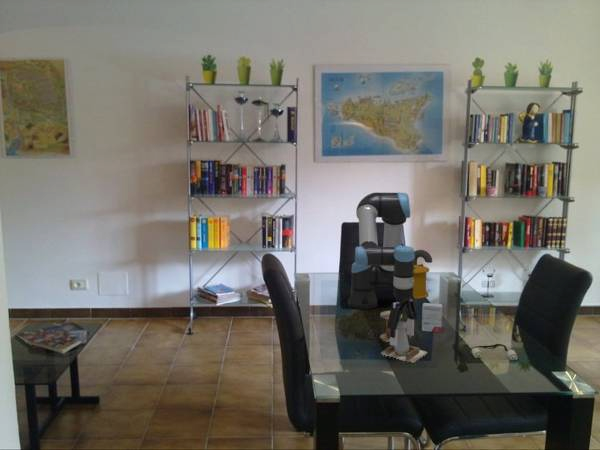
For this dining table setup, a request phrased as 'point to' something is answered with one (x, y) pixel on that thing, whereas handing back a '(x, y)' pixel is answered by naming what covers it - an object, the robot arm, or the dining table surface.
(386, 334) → the bobbin
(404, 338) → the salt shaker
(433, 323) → the ink box
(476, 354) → the cable
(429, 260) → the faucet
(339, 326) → the dining table surface
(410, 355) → the board
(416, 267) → the spool
